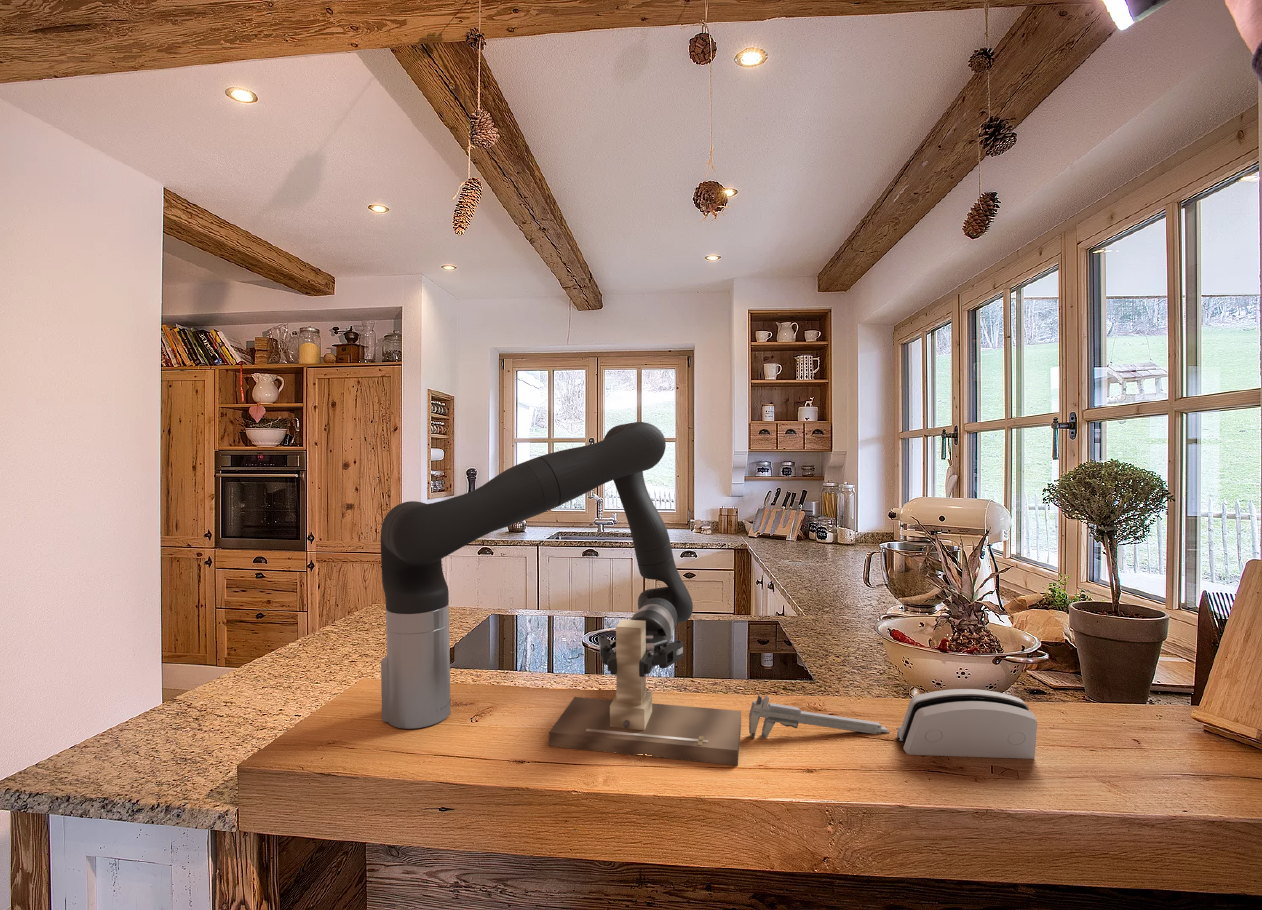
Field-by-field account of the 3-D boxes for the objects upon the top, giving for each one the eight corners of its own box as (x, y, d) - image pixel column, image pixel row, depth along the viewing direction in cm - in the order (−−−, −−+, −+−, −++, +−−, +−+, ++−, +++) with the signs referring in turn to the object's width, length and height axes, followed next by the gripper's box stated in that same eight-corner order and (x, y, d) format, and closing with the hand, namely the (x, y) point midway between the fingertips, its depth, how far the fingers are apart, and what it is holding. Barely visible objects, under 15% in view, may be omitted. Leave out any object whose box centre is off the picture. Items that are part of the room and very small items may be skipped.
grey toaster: (1016, 740, 87) (1030, 683, 83) (1034, 768, 82) (1049, 709, 79) (893, 736, 88) (902, 680, 85) (904, 763, 84) (914, 706, 80)
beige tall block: (608, 729, 87) (608, 630, 86) (619, 708, 93) (619, 616, 93) (643, 732, 86) (643, 632, 85) (652, 711, 92) (651, 618, 92)
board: (549, 746, 86) (548, 731, 86) (574, 709, 98) (574, 696, 98) (737, 765, 81) (737, 749, 81) (741, 724, 92) (741, 710, 92)
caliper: (751, 740, 88) (750, 697, 88) (748, 737, 89) (748, 694, 89) (889, 734, 89) (889, 692, 89) (886, 731, 90) (886, 688, 90)
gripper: (608, 607, 105) (578, 639, 88) (691, 611, 102) (677, 645, 85) (608, 651, 105) (579, 691, 88) (691, 656, 102) (677, 699, 85)
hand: (627, 668), depth 87 cm, fingers closed on beige tall block, 3 cm apart
